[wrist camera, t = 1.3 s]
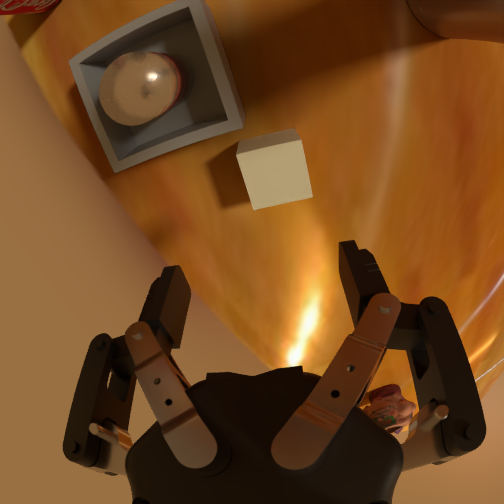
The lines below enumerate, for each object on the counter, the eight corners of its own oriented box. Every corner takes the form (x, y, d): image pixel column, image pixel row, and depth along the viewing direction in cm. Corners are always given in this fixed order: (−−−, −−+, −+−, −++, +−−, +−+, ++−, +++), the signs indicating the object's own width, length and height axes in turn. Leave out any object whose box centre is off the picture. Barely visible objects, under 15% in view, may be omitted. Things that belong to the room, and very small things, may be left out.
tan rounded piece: (183, 44, 20) (156, 37, 14) (202, 97, 24) (182, 108, 17) (129, 68, 21) (89, 74, 15) (148, 117, 25) (114, 137, 19)
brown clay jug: (353, 406, 76) (358, 443, 65) (344, 397, 70) (350, 439, 59) (410, 386, 69) (419, 423, 58) (408, 374, 63) (419, 416, 52)
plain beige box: (294, 127, 27) (301, 139, 23) (305, 177, 30) (312, 197, 26) (239, 140, 28) (235, 154, 24) (254, 188, 31) (253, 210, 27)
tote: (209, 7, 18) (197, -7, 14) (246, 116, 26) (243, 128, 21) (99, 57, 21) (68, 60, 16) (137, 153, 28) (114, 173, 24)
